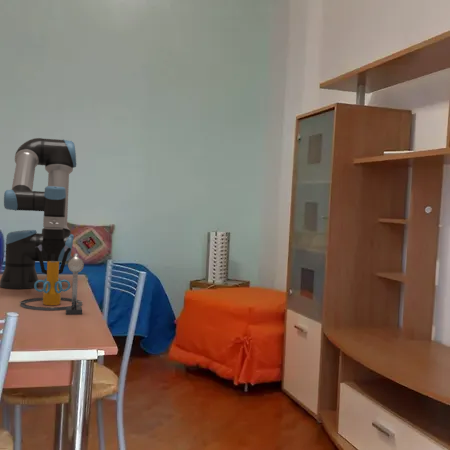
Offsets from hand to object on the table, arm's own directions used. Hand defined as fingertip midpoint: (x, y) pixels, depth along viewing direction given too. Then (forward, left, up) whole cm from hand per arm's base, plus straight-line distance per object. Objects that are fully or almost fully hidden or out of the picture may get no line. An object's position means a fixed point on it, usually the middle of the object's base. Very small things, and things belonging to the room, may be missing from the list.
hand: (51, 292), depth 209 cm
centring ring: (+11, 0, -3) cm, 11 cm away
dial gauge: (+24, +7, -3) cm, 25 cm away
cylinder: (+10, 0, -3) cm, 10 cm away
